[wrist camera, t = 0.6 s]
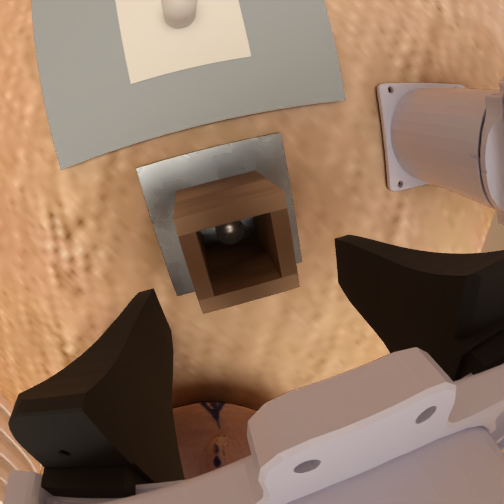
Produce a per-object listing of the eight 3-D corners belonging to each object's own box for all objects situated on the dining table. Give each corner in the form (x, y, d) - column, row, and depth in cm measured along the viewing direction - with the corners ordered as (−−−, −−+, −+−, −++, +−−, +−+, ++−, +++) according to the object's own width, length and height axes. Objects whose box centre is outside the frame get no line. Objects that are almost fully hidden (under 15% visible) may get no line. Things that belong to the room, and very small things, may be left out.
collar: (255, 170, 19) (284, 191, 14) (270, 243, 22) (299, 286, 16) (176, 190, 19) (172, 219, 14) (197, 263, 21) (203, 313, 16)
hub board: (294, -70, 13) (315, -96, 9) (338, 100, 19) (370, 99, 15) (36, -15, 11) (12, -34, 8) (66, 167, 17) (41, 179, 14)
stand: (279, 132, 19) (293, 134, 17) (300, 259, 23) (315, 277, 20) (137, 167, 18) (129, 175, 16) (177, 293, 22) (177, 316, 19)
